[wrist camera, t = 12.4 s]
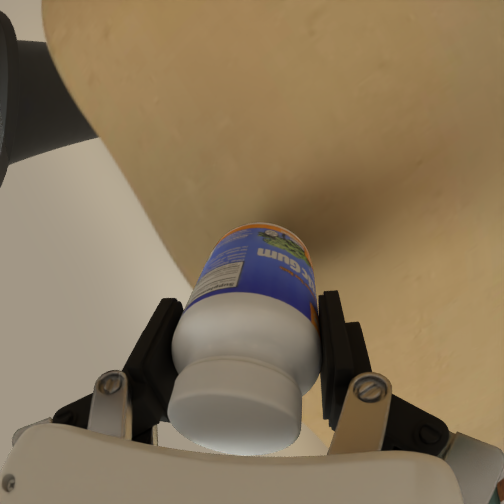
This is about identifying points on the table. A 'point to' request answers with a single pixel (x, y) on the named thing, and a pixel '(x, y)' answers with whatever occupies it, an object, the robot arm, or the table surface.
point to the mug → (501, 487)
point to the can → (495, 498)
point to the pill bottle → (247, 344)
